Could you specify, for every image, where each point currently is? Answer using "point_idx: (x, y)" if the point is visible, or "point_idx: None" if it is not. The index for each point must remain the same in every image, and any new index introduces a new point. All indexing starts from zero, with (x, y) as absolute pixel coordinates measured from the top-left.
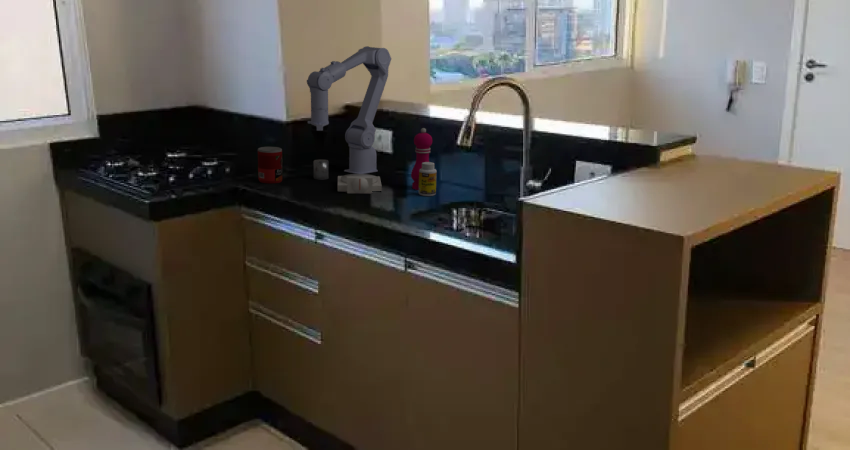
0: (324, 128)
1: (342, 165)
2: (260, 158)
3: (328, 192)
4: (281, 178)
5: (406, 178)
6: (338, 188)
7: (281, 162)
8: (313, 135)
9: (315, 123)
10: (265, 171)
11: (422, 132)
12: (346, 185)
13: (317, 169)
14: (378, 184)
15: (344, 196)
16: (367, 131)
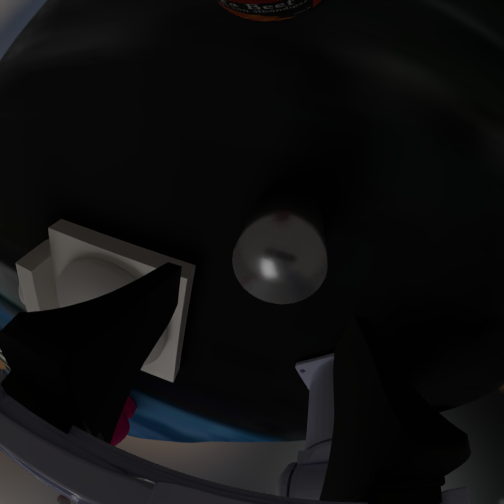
0: (332, 488)
1: (465, 355)
2: None
3: (51, 187)
4: (232, 12)
5: (221, 423)
6: (55, 225)
7: None
8: (48, 310)
9: (4, 448)
10: None
11: (60, 495)
12: (50, 253)
13: (251, 216)
14: None
15: (22, 221)
16: None
